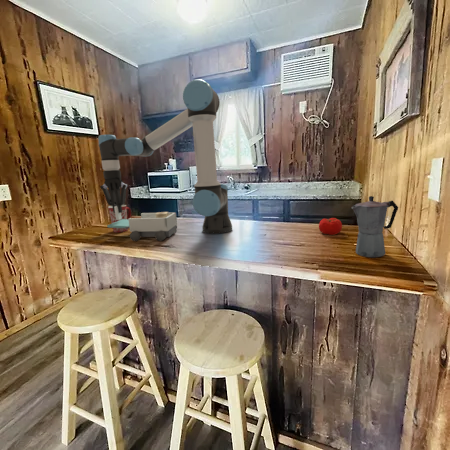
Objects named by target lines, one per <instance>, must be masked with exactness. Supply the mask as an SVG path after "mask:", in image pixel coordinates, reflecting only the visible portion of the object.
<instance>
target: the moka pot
mask: <svg viewBox="0 0 450 450" xmlns="http://www.w3.org/2000/svg"><path fill="white" fill-rule="evenodd" d="M374 198H375V196H373V195H370V196H368V201H365V202H358V203H355V205H352V206H351V209H352V210H353V212H354V214H355V216H356V220H357V221H356V222H357V227H358V234H357V240H356V245H355V254H357V255H358V256H361V257H366V258H381V257H383V256H385V255H386V247H385V241H384V240H385V239H384V233H383V231H384V229H390V228H392V227H393V226H392V225H393V224H394V221H395V217H396V215H397V212H398V211H399V206H398V205H397V204H396V203H395V201H394V200H389V201H383V202H380V201H374ZM390 207H392V208H393V210H392V212H391V216H390V220H389V223H388V224H387V225H385V223H386V218H387V212H388V208H390Z"/></svg>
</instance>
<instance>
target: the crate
mask: <svg viewBox="0 0 450 450" xmlns="http://www.w3.org/2000/svg"><path fill="white" fill-rule="evenodd" d="M155 213H156V218H166V217H167V216H168V213H169V211H161V212H160V211H158V212H155Z"/></svg>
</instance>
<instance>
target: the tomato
mask: <svg viewBox="0 0 450 450" xmlns="http://www.w3.org/2000/svg"><path fill="white" fill-rule="evenodd" d="M318 229H319V232H321V233H322V234H324V235H329V236H333V235H337V234H339V233H340V232H342V229H343V223H342V221H341V220H340V219H338V218H336V217H331V218H330V217H329V218H322V219H320V221H319V223H318Z"/></svg>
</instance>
